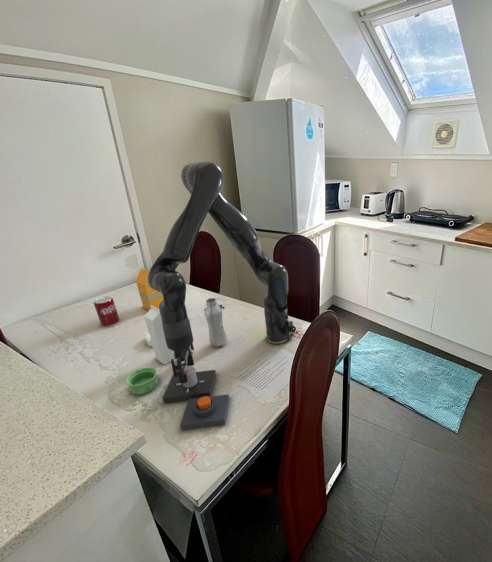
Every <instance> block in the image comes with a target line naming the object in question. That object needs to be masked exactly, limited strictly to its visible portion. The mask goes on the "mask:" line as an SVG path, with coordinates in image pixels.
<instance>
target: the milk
mask: <svg viewBox="0 0 492 562" xmlns="http://www.w3.org/2000/svg"><path fill="white" fill-rule="evenodd" d="M150 306H151V309H150V310H147V312H146V313H145V314H144V315H143V317H144V321H145V324H146V327H147V333H148V332H149V335H150V339H151V342H152V346H153V347H152V349H153V352H154V356H155V359H156V360H157V361H159V362H160V363H162V365H167V364H169V363H171V359H175V358H174V351H173V350H170V349H169V348H168V347H167V344H166V340H165V336H164V332H163V328H162V320H161V316H160V312H159V309H157V308H155V307H154V306H152V305H150Z"/></svg>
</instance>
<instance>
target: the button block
mask: <svg viewBox="0 0 492 562" xmlns="http://www.w3.org/2000/svg"><path fill="white" fill-rule="evenodd" d="M208 397H210V400H211V406H210V407H209V408H207V409H205V410H201V409H199V408H198V403H197V402H198V400H199V399H200V398H194V399H189V400H188V401H187V403H186V406H185V409H184V412H183V415H182V418H181V422H180V424H179V426H180V431H191V430H196V429H197V430H198V429H204V428H212V427H220V426H225V425H226V422H227V416H228V410H229V405H230V395H229V394H227V393H226V394H220V395H211V396H208Z"/></svg>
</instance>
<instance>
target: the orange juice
mask: <svg viewBox="0 0 492 562" xmlns="http://www.w3.org/2000/svg"><path fill="white" fill-rule="evenodd" d="M149 271H150V270H147V269H144V268H140V270H139V272H138V275H137V277H136V280H135V282H136V286H137V290H138V294H139V297H140V300H141V305H142V307H143V308H144V309H145V310H147V311H149V310H150V309H151V306H150V305H152V306H154V307H155V308H157V309H159V303H160V302H161V301H162V300H163V295H162V293H161V292H158V291H156V290H153V289H152V288H151V287H150V286H149V284H148V274H149Z"/></svg>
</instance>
